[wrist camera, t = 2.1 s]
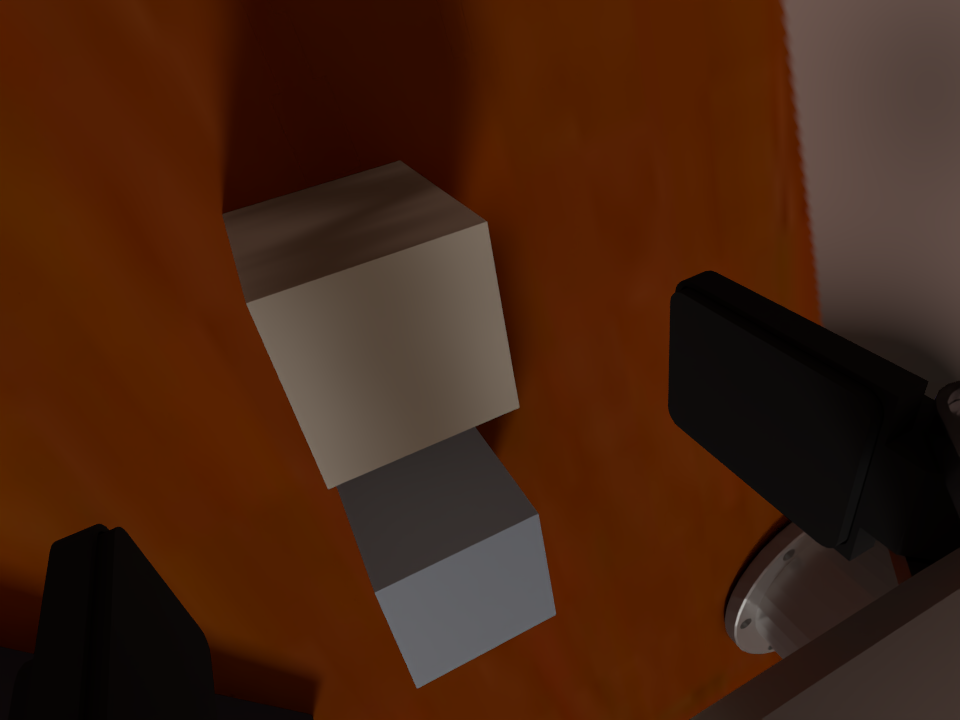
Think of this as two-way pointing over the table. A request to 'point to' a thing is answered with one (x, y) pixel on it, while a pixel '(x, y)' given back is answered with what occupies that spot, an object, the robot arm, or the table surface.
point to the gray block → (450, 552)
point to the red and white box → (232, 713)
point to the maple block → (376, 314)
